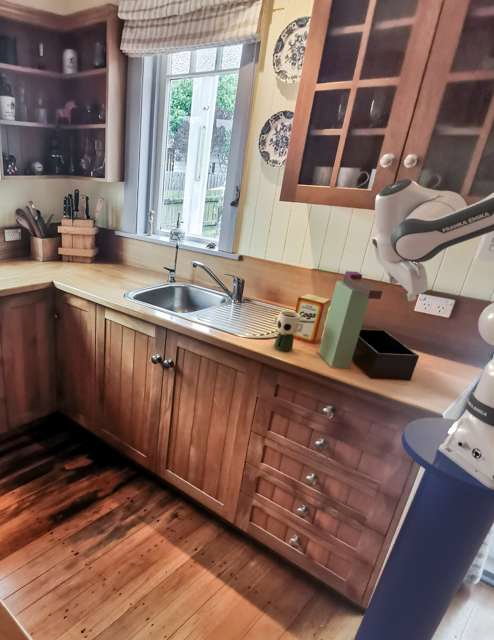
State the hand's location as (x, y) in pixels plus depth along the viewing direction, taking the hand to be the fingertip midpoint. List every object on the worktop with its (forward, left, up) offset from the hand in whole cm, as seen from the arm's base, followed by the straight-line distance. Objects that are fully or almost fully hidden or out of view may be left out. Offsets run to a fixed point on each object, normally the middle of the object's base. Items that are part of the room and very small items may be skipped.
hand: (402, 290), depth 124 cm
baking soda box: (+43, +5, -31) cm, 54 cm away
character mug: (+31, +17, -31) cm, 47 cm away
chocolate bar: (+18, +2, -5) cm, 19 cm away
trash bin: (+21, -11, -31) cm, 39 cm away
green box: (+23, +2, -31) cm, 39 cm away
